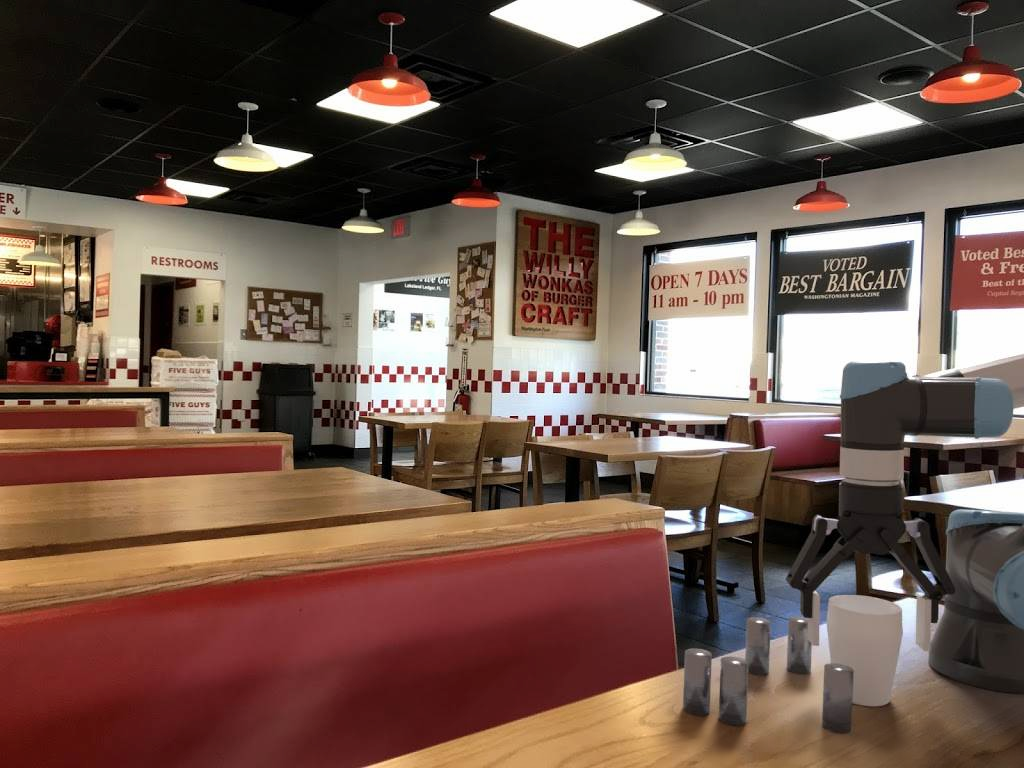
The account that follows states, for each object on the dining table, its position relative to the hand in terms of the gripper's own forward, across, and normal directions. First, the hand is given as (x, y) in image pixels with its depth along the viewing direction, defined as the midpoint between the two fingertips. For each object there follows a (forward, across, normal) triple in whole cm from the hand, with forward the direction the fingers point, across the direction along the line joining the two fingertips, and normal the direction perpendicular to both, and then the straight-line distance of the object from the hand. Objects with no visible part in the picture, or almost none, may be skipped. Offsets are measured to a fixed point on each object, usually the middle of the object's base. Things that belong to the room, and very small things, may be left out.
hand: (867, 645), depth 103 cm
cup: (+7, +1, 0) cm, 7 cm away
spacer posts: (+6, +15, +1) cm, 16 cm away
